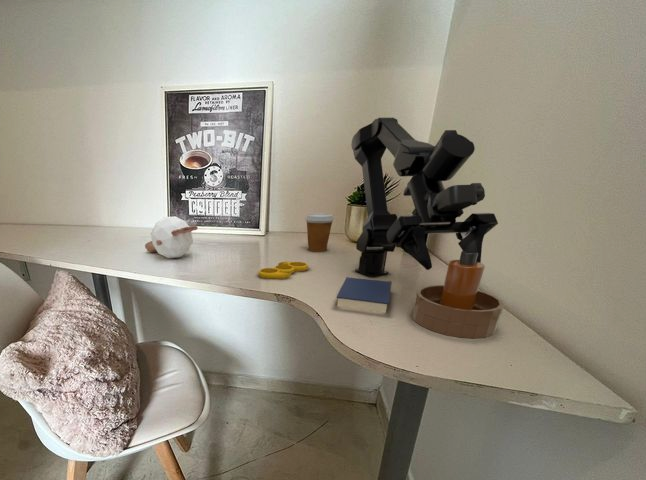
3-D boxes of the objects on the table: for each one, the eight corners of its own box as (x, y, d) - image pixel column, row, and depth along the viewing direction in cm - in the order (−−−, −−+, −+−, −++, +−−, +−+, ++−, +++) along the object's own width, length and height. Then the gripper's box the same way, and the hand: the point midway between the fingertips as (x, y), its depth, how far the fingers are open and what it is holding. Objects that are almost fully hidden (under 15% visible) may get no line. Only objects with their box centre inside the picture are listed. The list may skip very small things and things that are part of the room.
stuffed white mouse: (173, 258, 126) (158, 222, 122) (215, 244, 108) (199, 202, 104) (142, 271, 117) (125, 232, 113) (182, 258, 99) (164, 212, 95)
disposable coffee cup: (325, 254, 113) (328, 217, 108) (299, 251, 117) (301, 215, 113) (334, 248, 120) (337, 214, 115) (309, 245, 125) (311, 212, 120)
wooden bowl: (442, 306, 70) (448, 281, 68) (510, 331, 59) (520, 302, 57) (396, 318, 65) (401, 291, 63) (462, 348, 54) (471, 317, 52)
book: (345, 288, 81) (346, 277, 80) (389, 293, 77) (391, 281, 76) (335, 309, 69) (336, 296, 68) (386, 316, 66) (389, 303, 65)
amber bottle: (447, 313, 65) (464, 247, 59) (474, 324, 60) (495, 253, 55) (429, 319, 63) (445, 250, 57) (455, 330, 58) (475, 257, 53)
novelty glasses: (249, 273, 94) (272, 282, 86) (249, 268, 93) (272, 276, 86) (293, 264, 102) (317, 271, 95) (293, 259, 102) (317, 266, 94)
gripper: (404, 167, 58) (430, 244, 52) (505, 165, 59) (540, 240, 54) (377, 210, 68) (396, 277, 62) (463, 207, 70) (489, 273, 64)
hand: (453, 267), depth 60 cm, fingers open, 9 cm apart
